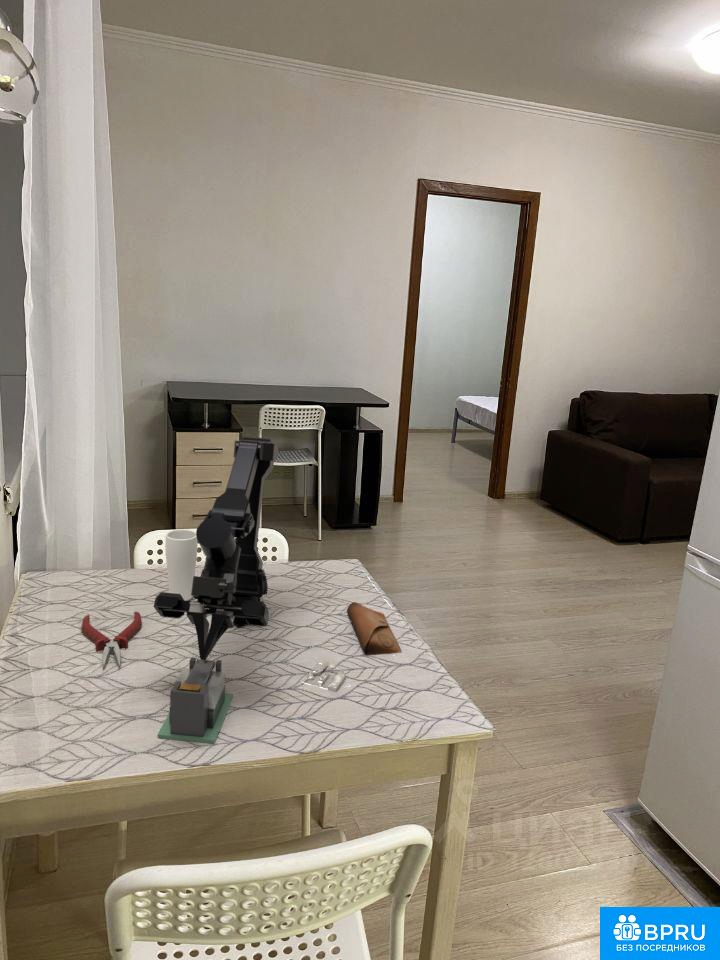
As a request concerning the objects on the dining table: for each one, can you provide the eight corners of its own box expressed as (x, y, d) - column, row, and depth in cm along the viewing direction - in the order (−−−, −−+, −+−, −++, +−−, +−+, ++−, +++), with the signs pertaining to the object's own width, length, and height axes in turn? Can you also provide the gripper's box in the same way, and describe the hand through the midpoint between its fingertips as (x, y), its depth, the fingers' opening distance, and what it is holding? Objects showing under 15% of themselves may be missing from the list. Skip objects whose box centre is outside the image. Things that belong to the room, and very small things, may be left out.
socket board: (182, 691, 124) (182, 649, 121) (233, 696, 123) (234, 654, 121) (157, 737, 111) (157, 691, 109) (214, 743, 111) (215, 697, 109)
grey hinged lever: (197, 656, 120) (179, 688, 110) (215, 657, 120) (198, 690, 110) (197, 665, 121) (178, 699, 110) (215, 667, 121) (198, 700, 110)
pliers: (77, 676, 127) (77, 663, 126) (82, 624, 145) (82, 612, 144) (144, 670, 130) (144, 657, 130) (141, 620, 149) (141, 608, 148)
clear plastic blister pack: (335, 695, 127) (335, 687, 127) (300, 685, 130) (300, 678, 129) (351, 673, 135) (351, 667, 134) (317, 665, 137) (318, 658, 136)
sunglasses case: (405, 653, 142) (391, 628, 140) (374, 670, 142) (360, 645, 139) (383, 612, 159) (370, 589, 157) (355, 628, 159) (342, 605, 156)
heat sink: (184, 696, 121) (184, 666, 120) (224, 700, 121) (225, 670, 120) (169, 724, 114) (169, 692, 112) (212, 728, 113) (213, 697, 112)
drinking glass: (182, 588, 164) (183, 526, 159) (203, 597, 160) (204, 534, 156) (158, 597, 158) (158, 534, 154) (179, 607, 154) (179, 542, 150)
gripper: (156, 548, 118) (133, 640, 111) (268, 558, 118) (252, 651, 110) (171, 572, 128) (151, 659, 121) (274, 581, 127) (260, 669, 120)
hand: (202, 659), depth 118 cm, fingers closed
